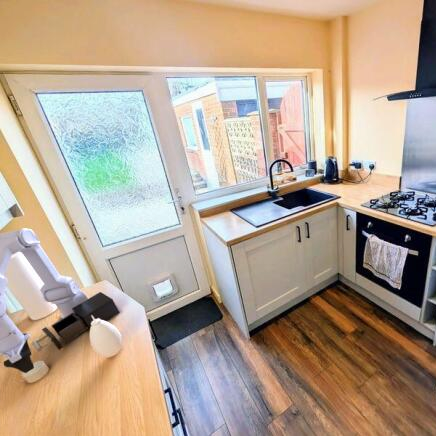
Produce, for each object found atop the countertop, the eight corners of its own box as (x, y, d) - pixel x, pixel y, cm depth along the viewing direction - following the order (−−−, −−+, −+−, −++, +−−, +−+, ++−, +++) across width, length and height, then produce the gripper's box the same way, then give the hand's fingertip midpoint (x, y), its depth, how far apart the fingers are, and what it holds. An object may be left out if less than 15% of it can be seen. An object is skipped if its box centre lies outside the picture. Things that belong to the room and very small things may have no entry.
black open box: (44, 360, 85) (35, 348, 83) (35, 349, 90) (26, 338, 88) (89, 330, 96) (82, 319, 93) (78, 321, 100) (72, 311, 98)
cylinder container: (26, 323, 104) (-18, 265, 91) (35, 309, 112) (-5, 254, 99) (54, 313, 108) (15, 256, 95) (61, 300, 115) (25, 246, 103)
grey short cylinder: (45, 364, 85) (40, 357, 83) (51, 370, 82) (46, 364, 81) (24, 378, 81) (19, 372, 79) (30, 385, 78) (24, 379, 77)
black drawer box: (91, 331, 96) (82, 317, 93) (80, 322, 101) (71, 308, 98) (119, 312, 104) (112, 298, 101) (107, 304, 109) (100, 291, 106)
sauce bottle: (130, 351, 86) (108, 313, 78) (104, 368, 81) (78, 329, 73) (123, 339, 91) (103, 302, 83) (98, 354, 86) (74, 317, 78)
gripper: (23, 336, 71) (47, 366, 77) (20, 314, 80) (42, 342, 86) (-12, 354, 67) (16, 385, 72) (-12, 328, 76) (14, 357, 81)
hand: (28, 363), depth 79 cm, fingers open, 7 cm apart
